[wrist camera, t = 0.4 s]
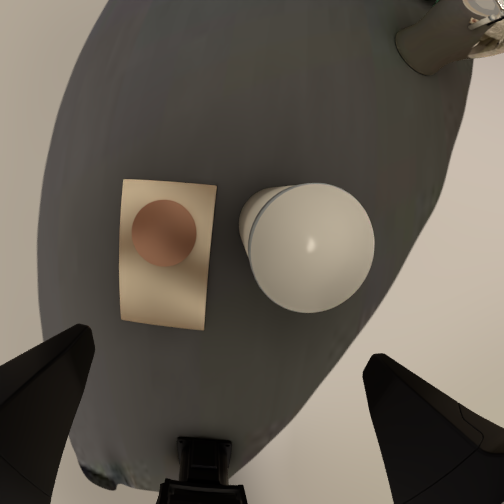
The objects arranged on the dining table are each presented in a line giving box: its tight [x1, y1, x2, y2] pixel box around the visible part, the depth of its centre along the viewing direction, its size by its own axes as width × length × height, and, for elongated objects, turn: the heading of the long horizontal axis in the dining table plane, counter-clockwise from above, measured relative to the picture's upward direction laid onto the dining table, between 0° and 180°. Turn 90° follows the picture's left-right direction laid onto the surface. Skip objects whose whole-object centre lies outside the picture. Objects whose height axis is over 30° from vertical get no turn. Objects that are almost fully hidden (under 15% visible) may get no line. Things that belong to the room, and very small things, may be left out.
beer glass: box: [395, 0, 504, 75], centre depth 12 cm, size 7×7×15 cm
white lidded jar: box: [239, 183, 374, 313], centre depth 17 cm, size 6×6×10 cm
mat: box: [119, 179, 217, 330], centre depth 21 cm, size 12×8×1 cm, turn 173°
